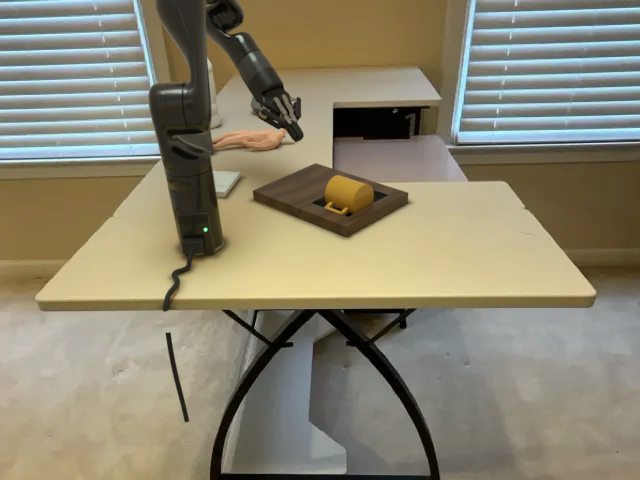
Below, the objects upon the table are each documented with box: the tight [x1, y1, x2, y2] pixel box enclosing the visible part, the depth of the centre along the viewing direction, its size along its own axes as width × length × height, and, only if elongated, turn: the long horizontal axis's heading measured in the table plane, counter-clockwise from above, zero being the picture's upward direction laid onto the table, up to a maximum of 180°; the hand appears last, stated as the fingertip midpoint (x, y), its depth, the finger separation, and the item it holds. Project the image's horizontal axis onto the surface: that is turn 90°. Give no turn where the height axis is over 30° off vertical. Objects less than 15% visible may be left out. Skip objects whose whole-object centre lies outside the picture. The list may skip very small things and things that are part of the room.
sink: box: [310, 189, 390, 218], centre depth 139 cm, size 12×15×2 cm
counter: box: [252, 162, 409, 238], centre depth 142 cm, size 30×22×2 cm
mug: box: [324, 175, 374, 215], centre depth 135 cm, size 10×7×8 cm
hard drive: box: [213, 170, 241, 198], centre depth 152 cm, size 2×8×12 cm
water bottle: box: [207, 56, 221, 130], centre depth 184 cm, size 7×7×25 cm
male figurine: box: [212, 128, 289, 151], centre depth 175 cm, size 11×5×25 cm
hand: (300, 139), depth 140 cm, fingers closed
